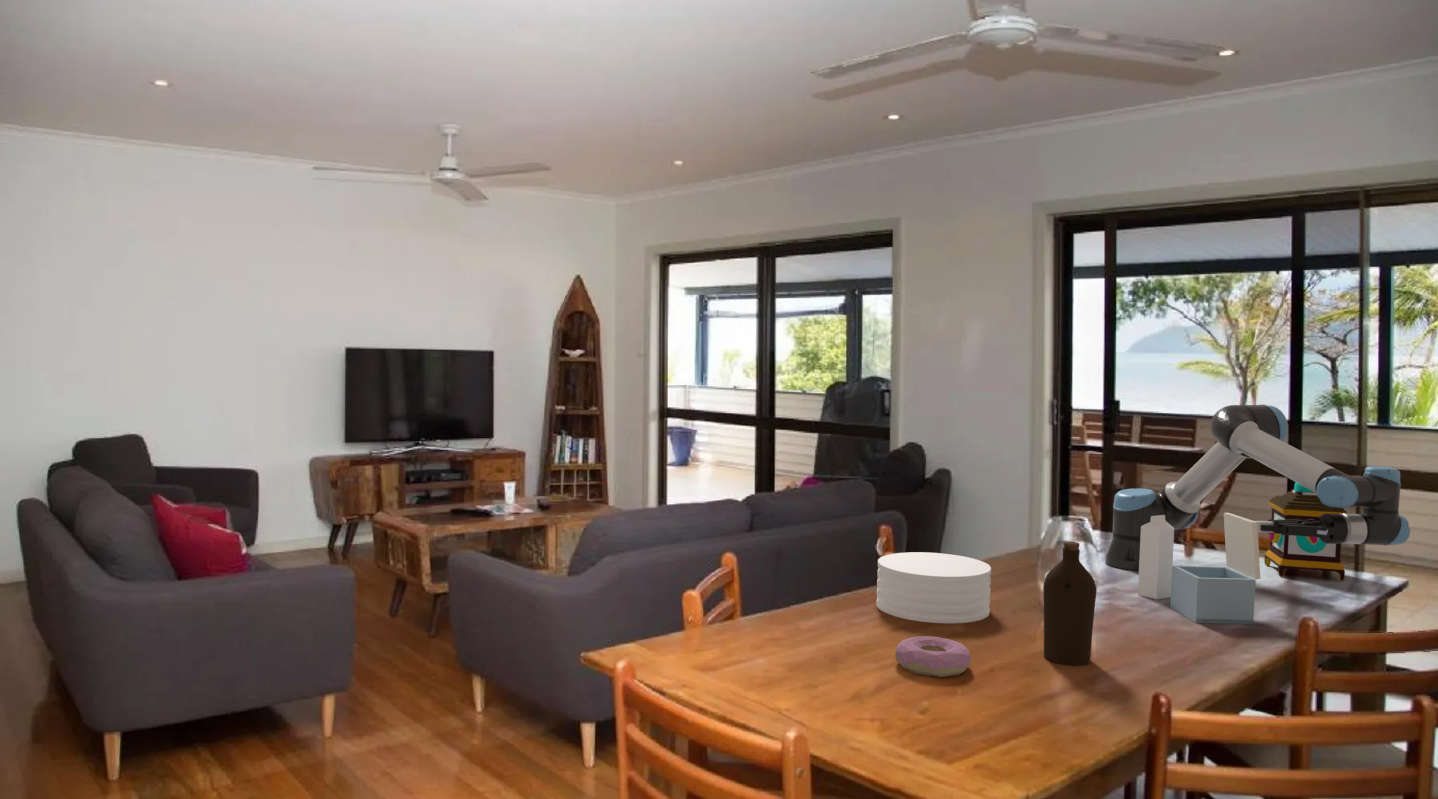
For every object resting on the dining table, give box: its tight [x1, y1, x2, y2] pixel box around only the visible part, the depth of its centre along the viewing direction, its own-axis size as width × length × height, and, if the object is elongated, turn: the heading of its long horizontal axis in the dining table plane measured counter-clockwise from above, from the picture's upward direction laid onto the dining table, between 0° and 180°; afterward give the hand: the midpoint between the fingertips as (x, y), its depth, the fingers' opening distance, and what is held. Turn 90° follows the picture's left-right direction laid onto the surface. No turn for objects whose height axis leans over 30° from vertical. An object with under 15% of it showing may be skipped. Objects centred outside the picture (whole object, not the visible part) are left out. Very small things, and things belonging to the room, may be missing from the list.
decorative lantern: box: [1264, 481, 1348, 582], centre depth 299 cm, size 20×20×30 cm
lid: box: [1223, 512, 1261, 580], centre depth 247 cm, size 14×14×1 cm
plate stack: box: [876, 551, 992, 624], centre depth 250 cm, size 28×28×12 cm
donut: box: [894, 635, 972, 678], centre depth 203 cm, size 16×15×5 cm
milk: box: [1137, 515, 1175, 600], centre depth 267 cm, size 6×6×22 cm
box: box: [1169, 565, 1257, 625], centre depth 248 cm, size 14×14×11 cm
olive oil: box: [1042, 540, 1097, 666], centre depth 210 cm, size 11×11×25 cm
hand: (1245, 526), depth 246 cm, fingers closed
